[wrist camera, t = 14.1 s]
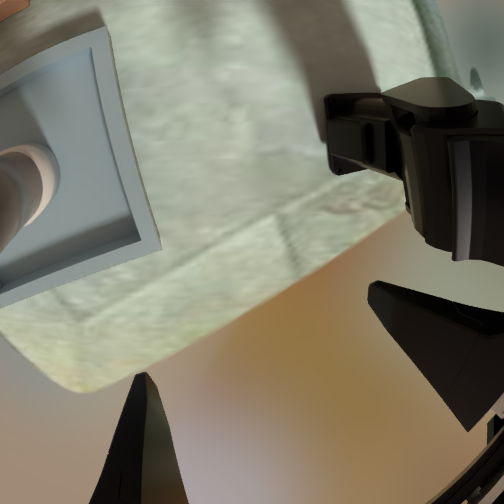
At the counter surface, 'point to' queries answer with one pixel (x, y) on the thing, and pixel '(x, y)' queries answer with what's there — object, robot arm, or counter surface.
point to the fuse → (25, 186)
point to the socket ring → (11, 7)
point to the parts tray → (74, 168)
